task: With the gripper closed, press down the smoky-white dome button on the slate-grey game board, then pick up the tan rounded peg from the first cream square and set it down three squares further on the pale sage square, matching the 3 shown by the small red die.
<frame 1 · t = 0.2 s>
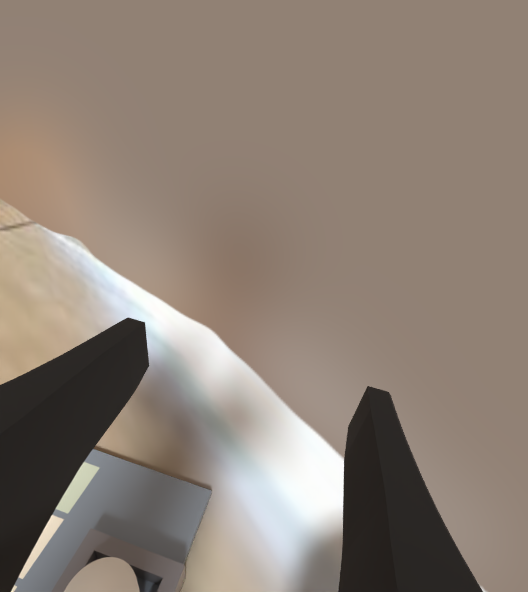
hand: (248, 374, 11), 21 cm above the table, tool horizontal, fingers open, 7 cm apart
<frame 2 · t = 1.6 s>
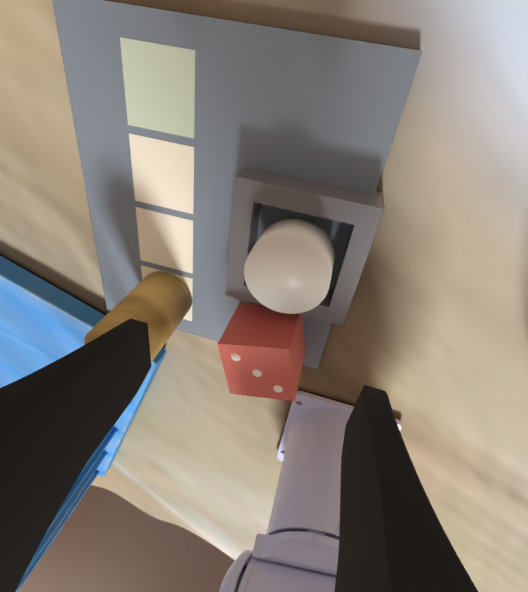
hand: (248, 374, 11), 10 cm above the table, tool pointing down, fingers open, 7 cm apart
dome housing: (301, 238, 19), resting on board
board: (217, 218, 20), on the table
tan rounded peg: (167, 294, 23), point 1 cm above the table, touching board
die: (273, 328, 23), point 1 cm above the table, touching board
file sorter: (58, 373, 34), on the table
dome: (290, 265, 17), point 3 cm above the table, slide at 0.0 cm
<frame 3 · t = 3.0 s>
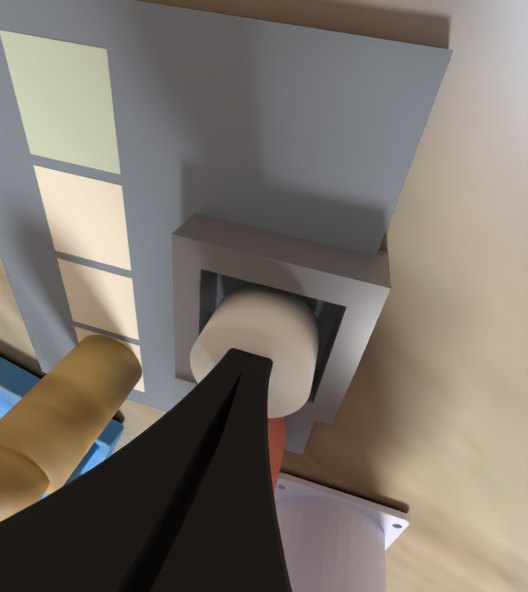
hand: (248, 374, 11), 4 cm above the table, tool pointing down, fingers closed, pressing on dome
dome housing: (276, 304, 14), resting on board
board: (164, 274, 15), on the table
tan rounded peg: (111, 360, 18), point 1 cm above the table, touching board
die: (245, 408, 18), point 1 cm above the table, touching board
file sorter: (8, 433, 30), on the table
dome: (258, 351, 12), point 3 cm above the table, slide at -0.3 cm, touching gripper
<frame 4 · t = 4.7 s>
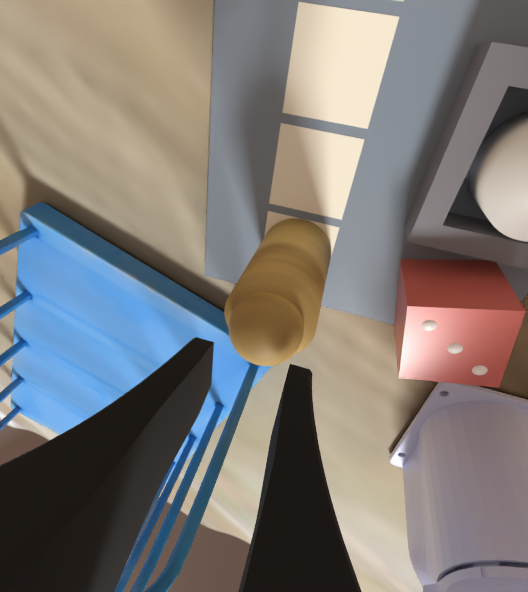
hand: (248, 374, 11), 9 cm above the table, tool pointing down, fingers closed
dome housing: (519, 161, 14), resting on board
board: (394, 137, 15), on the table
tan rounded peg: (296, 251, 18), point 1 cm above the table, touching board
die: (439, 294, 17), point 1 cm above the table, touching board
file sorter: (125, 372, 30), on the table
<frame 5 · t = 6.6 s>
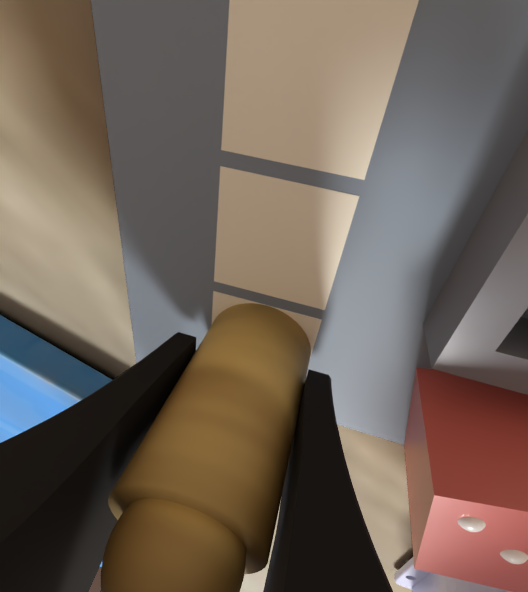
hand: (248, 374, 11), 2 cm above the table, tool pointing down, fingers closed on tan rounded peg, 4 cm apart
board: (410, 191, 9), on the table
tan rounded peg: (259, 345, 12), point 1 cm above the table, touching board, gripper
die: (474, 417, 11), point 1 cm above the table, touching board
file sorter: (70, 456, 24), on the table
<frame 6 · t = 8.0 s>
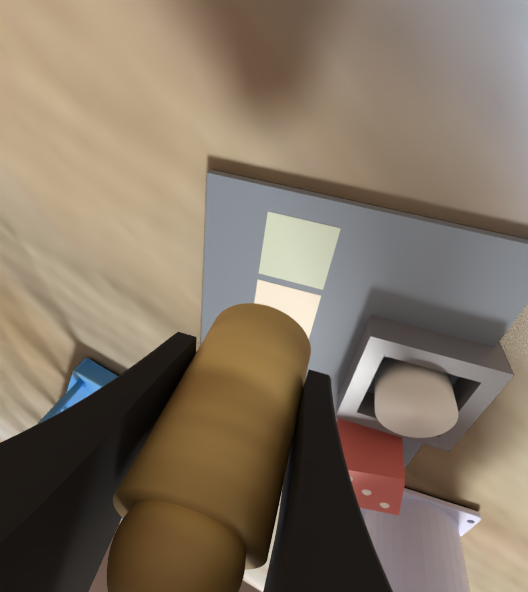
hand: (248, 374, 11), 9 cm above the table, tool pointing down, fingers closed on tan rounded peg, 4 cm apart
dome housing: (409, 367, 21), resting on board
board: (327, 344, 21), on the table
tan rounded peg: (260, 344, 12), point 8 cm above the table, touching gripper
die: (367, 434, 24), point 1 cm above the table, touching board
file sorter: (140, 457, 37), on the table
dome: (412, 395, 19), point 2 cm above the table, slide at -1.0 cm
when the fingers open (3 cm above the table, at t = 9.5 s): tan rounded peg stays where it is, resting on board.
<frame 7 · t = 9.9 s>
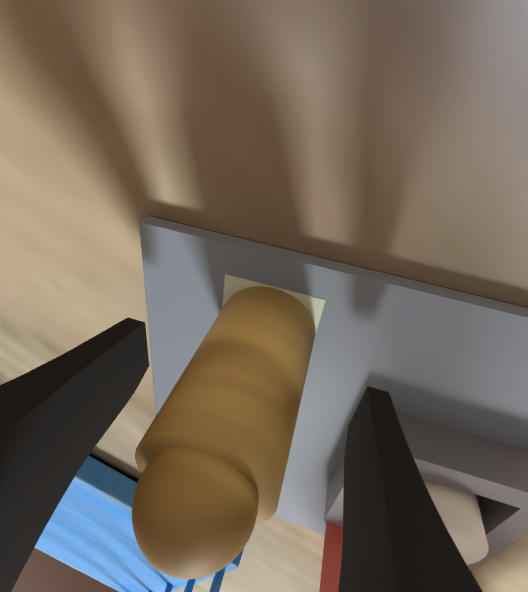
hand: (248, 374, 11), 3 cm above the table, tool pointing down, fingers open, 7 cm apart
dome housing: (418, 459, 16), resting on board
board: (313, 427, 17), on the table
tan rounded peg: (267, 326, 13), point 1 cm above the table, touching board
die: (365, 527, 19), point 1 cm above the table, touching board
file sorter: (110, 520, 33), on the table
dome: (424, 508, 14), point 2 cm above the table, slide at -1.0 cm
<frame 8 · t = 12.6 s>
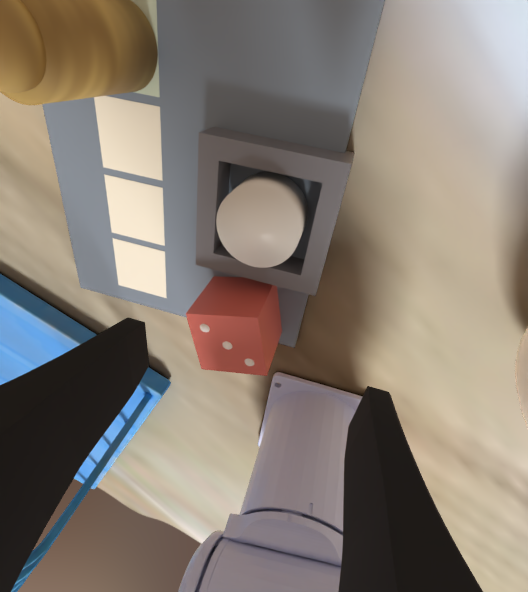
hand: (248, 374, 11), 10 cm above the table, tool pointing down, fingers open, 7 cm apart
dome housing: (273, 205, 19), resting on board
board: (187, 185, 19), on the table
tan rounded peg: (121, 46, 16), point 1 cm above the table, touching board
die: (248, 304, 22), point 1 cm above the table, touching board
file sorter: (60, 391, 36), on the table
dome: (263, 219, 17), point 2 cm above the table, slide at -1.0 cm
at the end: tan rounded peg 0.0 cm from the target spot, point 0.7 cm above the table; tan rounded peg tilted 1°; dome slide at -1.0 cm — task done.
